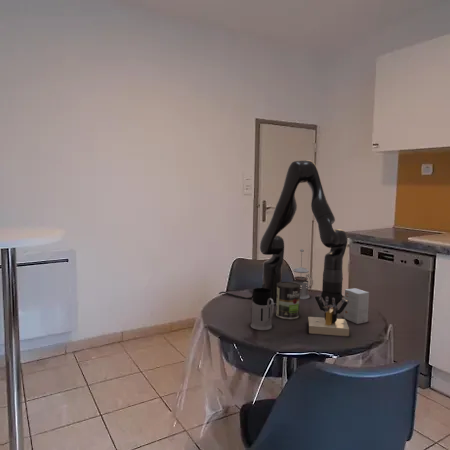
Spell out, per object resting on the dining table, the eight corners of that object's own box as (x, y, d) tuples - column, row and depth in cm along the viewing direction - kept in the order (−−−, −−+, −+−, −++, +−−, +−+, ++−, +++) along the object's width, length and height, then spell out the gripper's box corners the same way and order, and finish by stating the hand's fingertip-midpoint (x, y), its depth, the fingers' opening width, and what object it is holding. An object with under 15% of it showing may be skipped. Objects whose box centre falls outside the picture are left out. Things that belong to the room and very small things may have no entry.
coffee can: (304, 317, 166) (305, 285, 165) (285, 320, 162) (286, 288, 160) (289, 310, 176) (290, 280, 174) (271, 313, 171) (272, 282, 169)
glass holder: (266, 321, 161) (267, 286, 159) (282, 333, 147) (283, 295, 146) (247, 323, 158) (247, 288, 156) (262, 336, 144) (263, 297, 143)
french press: (298, 292, 206) (299, 247, 204) (316, 297, 198) (318, 249, 195) (286, 295, 200) (288, 248, 197) (305, 300, 191) (307, 251, 189)
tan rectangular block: (329, 325, 148) (330, 312, 148) (325, 324, 149) (325, 311, 149) (335, 320, 154) (335, 307, 154) (330, 319, 155) (331, 307, 155)
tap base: (309, 333, 148) (309, 325, 148) (307, 323, 159) (308, 316, 159) (349, 336, 145) (349, 328, 145) (345, 326, 156) (345, 318, 156)
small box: (368, 322, 161) (369, 292, 160) (357, 324, 159) (358, 293, 157) (354, 316, 169) (355, 287, 167) (343, 318, 166) (344, 289, 165)
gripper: (312, 278, 151) (310, 321, 153) (347, 284, 143) (345, 328, 145) (318, 275, 157) (317, 316, 159) (352, 280, 150) (350, 322, 151)
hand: (330, 321), depth 152 cm, fingers closed on tan rectangular block, 2 cm apart
